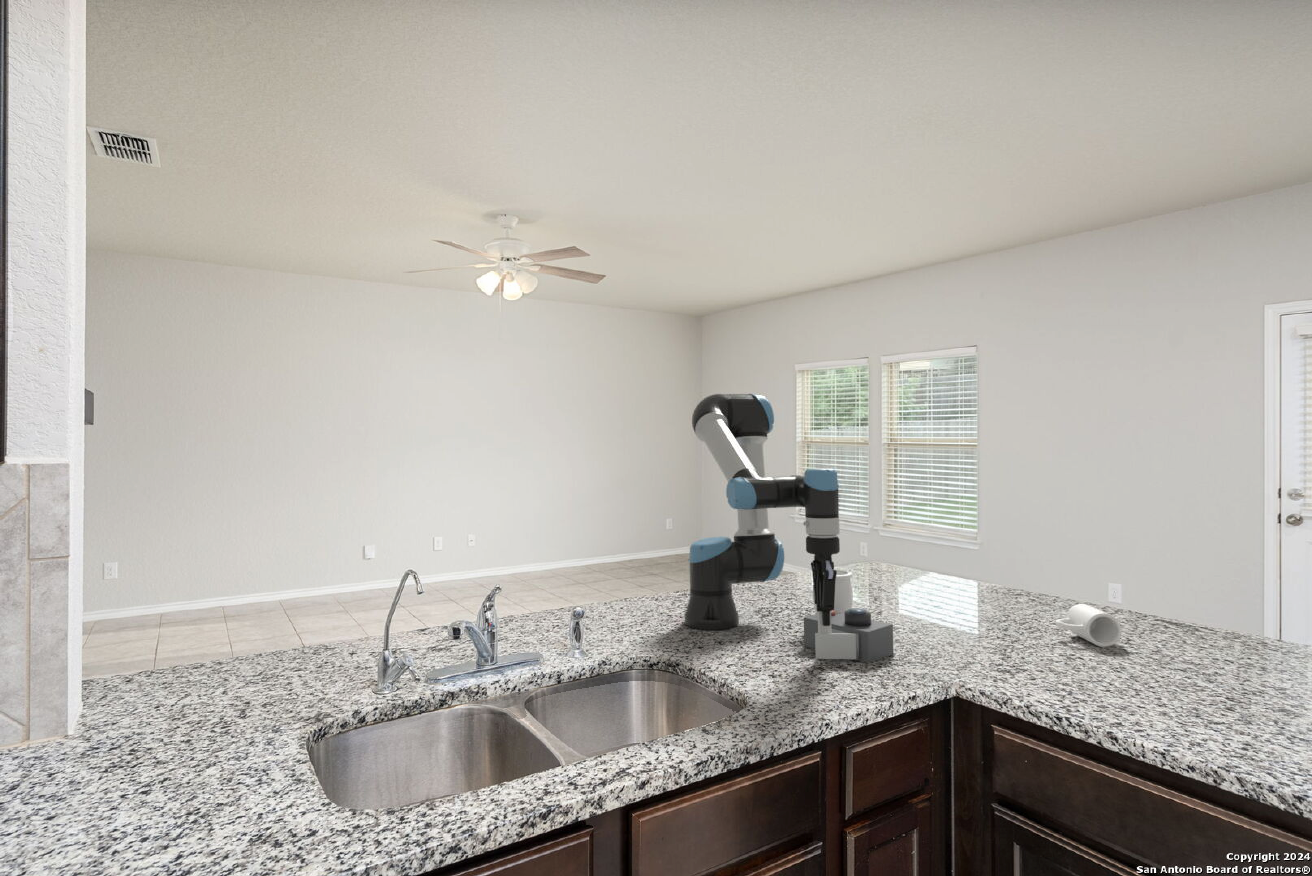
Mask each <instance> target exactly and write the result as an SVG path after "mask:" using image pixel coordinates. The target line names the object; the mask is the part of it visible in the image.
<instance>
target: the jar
mask: <svg viewBox="0 0 1312 876" xmlns="http://www.w3.org/2000/svg"><path fill="white" fill-rule="evenodd" d="M833 570H836V572H837V575H836V580H835V600H834V610H832V611H835V612H837V613H842V614H844V612H845V611H847V610H849V609H852V608H853V602H854V601H853V599H854V597H853V596H854V595H853V593H854V592H853V586H852V582H851V578H852V577H853V573H852V572H851V571H848V570H844V569H843V570H842V569H836V568H834V569H833ZM812 601H813V606H814V612H815V613H814V614H818V611H817V604H815V602H814V601H815V599H814V587H813V586H812Z"/></svg>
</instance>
